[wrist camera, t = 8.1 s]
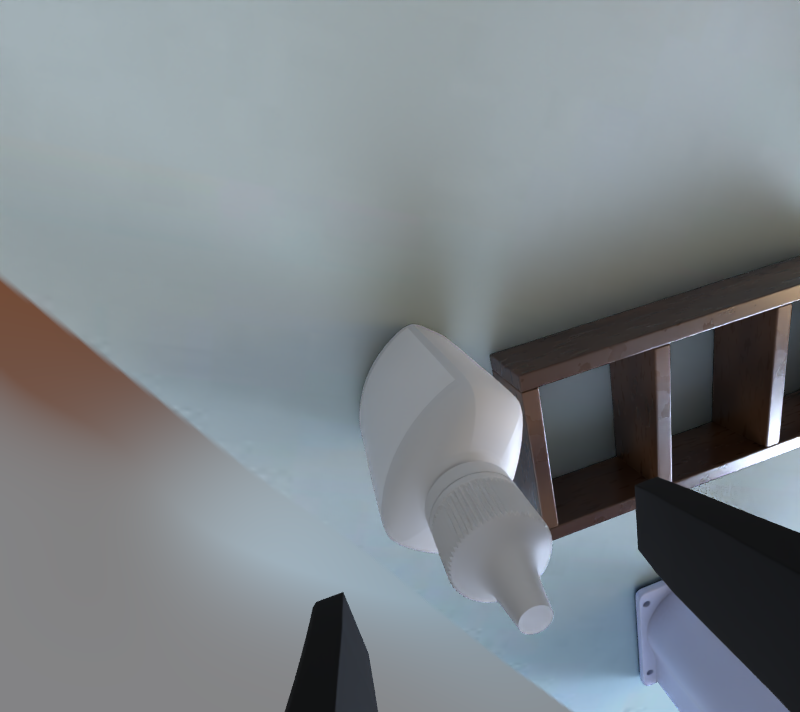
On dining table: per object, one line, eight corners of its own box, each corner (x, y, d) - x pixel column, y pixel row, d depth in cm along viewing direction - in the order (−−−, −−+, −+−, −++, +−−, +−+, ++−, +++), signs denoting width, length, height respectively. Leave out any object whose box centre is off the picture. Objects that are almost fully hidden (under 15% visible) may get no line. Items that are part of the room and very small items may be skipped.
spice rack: (811, 396, 24) (877, 418, 21) (516, 504, 22) (545, 544, 19) (830, 245, 21) (910, 247, 18) (488, 354, 19) (518, 376, 16)
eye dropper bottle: (323, 384, 18) (336, 653, 6) (425, 307, 18) (617, 447, 6) (381, 449, 19) (471, 756, 8) (474, 379, 19) (700, 593, 8)
